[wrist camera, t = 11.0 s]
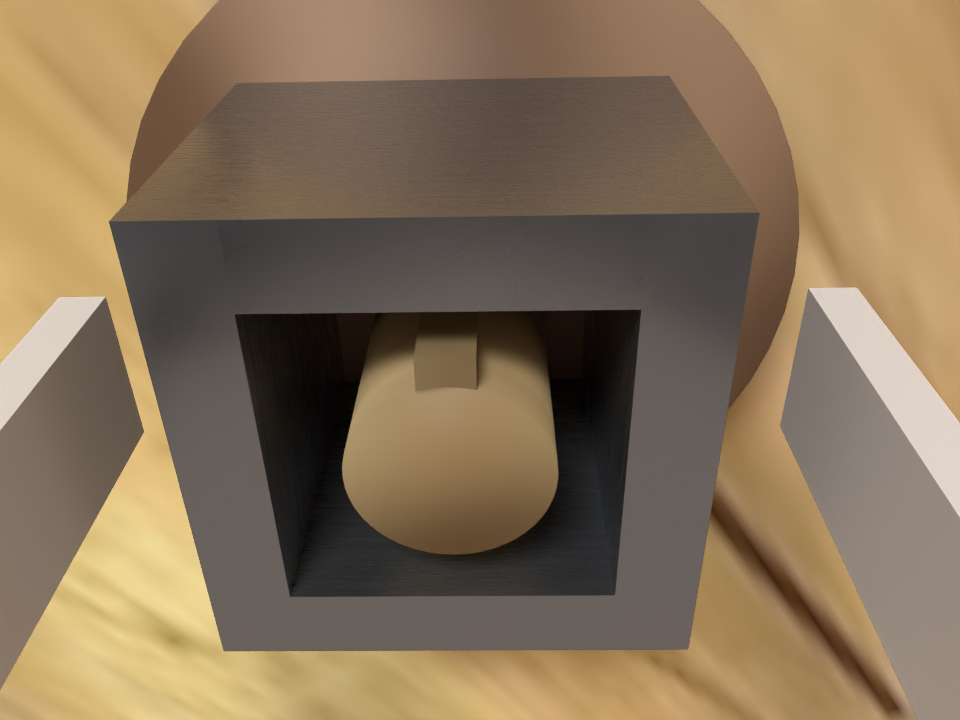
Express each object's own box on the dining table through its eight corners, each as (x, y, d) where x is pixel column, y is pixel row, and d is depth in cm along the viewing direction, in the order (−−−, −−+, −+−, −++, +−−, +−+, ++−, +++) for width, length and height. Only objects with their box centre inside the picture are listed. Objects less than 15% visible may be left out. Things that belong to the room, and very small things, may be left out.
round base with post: (220, 471, 22) (103, 757, 16) (89, -95, 15) (-222, -19, 9) (726, 467, 22) (830, 755, 15) (825, -111, 15) (1092, -45, 8)
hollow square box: (294, 428, 19) (223, 651, 14) (237, 82, 15) (108, 221, 10) (635, 425, 19) (688, 649, 14) (668, 75, 15) (760, 212, 10)
